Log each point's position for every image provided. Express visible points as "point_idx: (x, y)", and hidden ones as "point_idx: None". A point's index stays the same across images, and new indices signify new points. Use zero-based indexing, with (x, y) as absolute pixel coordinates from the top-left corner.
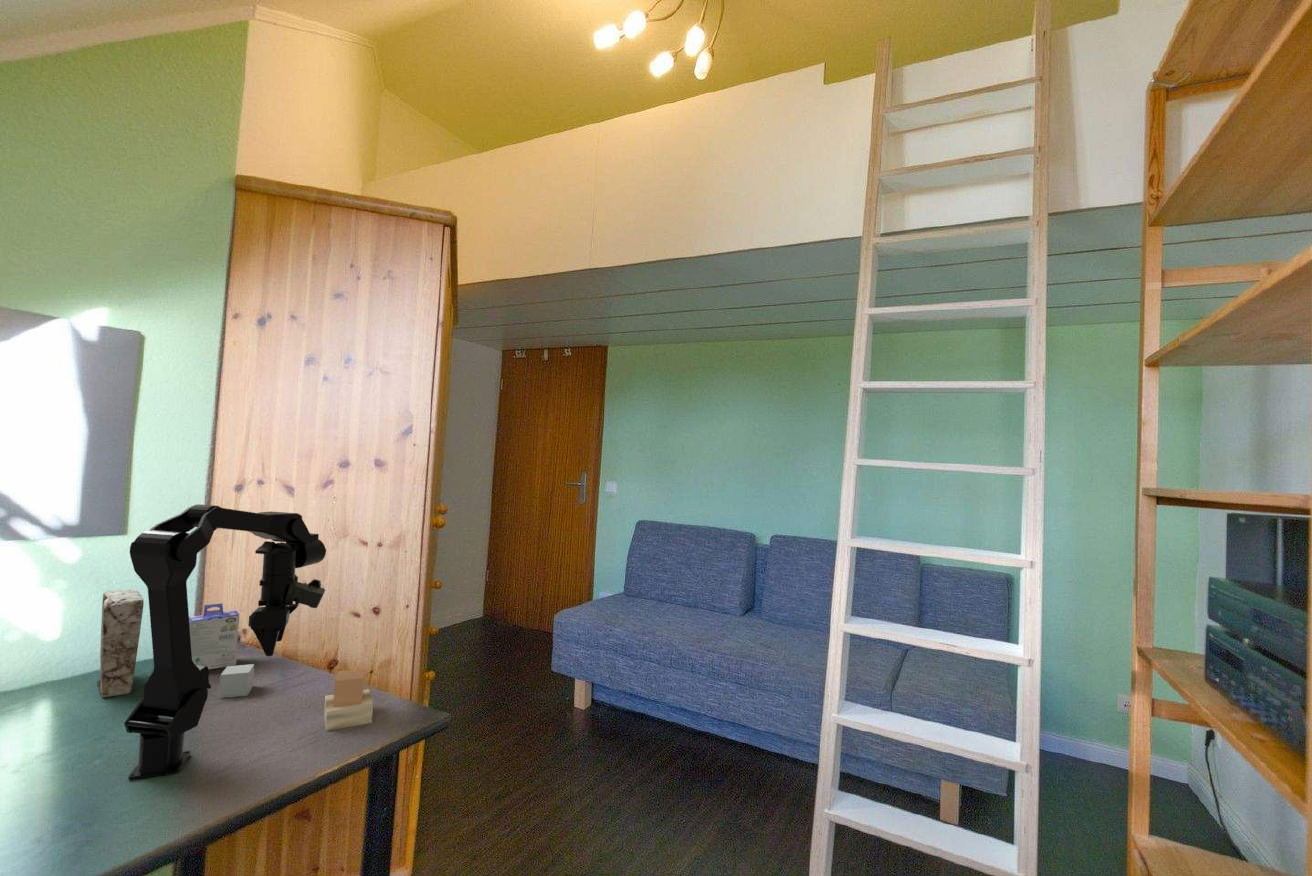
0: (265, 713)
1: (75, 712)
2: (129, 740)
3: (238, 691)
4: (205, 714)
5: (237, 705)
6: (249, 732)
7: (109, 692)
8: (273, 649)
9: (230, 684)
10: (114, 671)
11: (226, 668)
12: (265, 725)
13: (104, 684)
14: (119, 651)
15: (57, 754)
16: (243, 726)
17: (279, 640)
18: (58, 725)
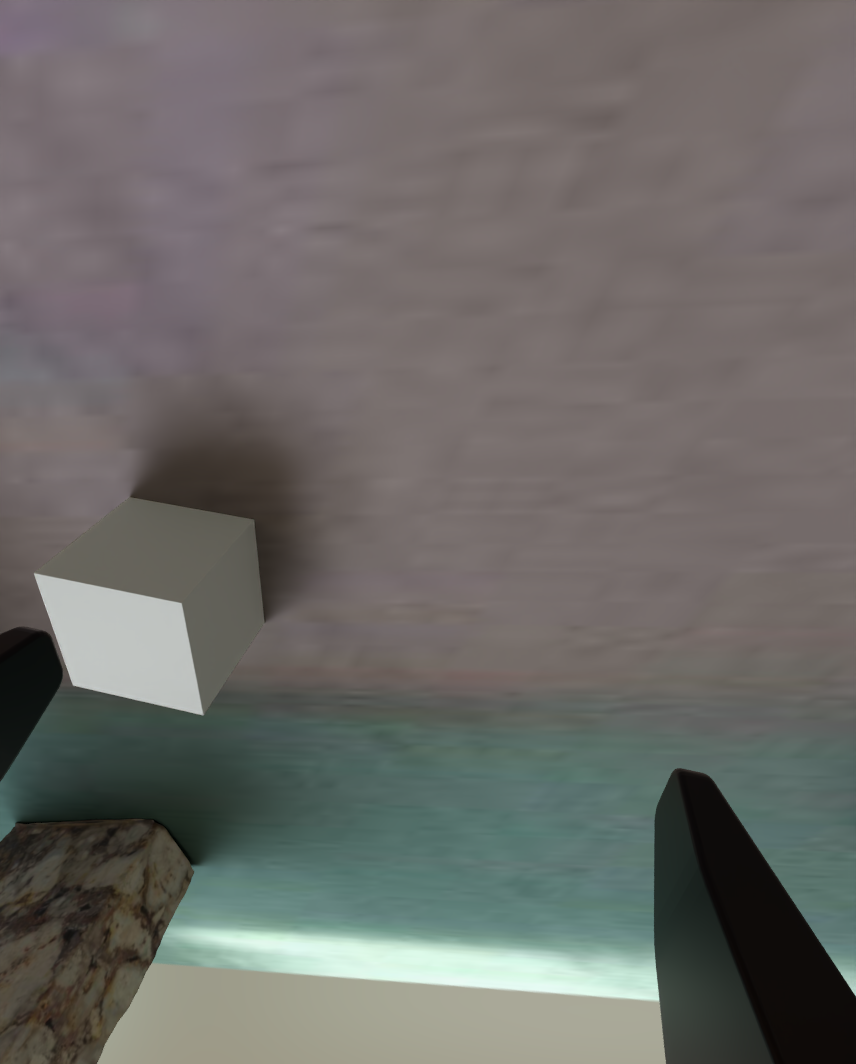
0: (571, 430)
1: (286, 906)
2: (597, 845)
3: (245, 572)
4: (446, 667)
5: (381, 558)
6: (840, 506)
7: (181, 876)
8: (780, 883)
9: (226, 632)
10: (133, 948)
11: (105, 689)
12: (787, 426)
13: (170, 916)
14: (77, 1035)
15: (601, 948)
16: (715, 534)
17: (46, 651)
18: (373, 932)
